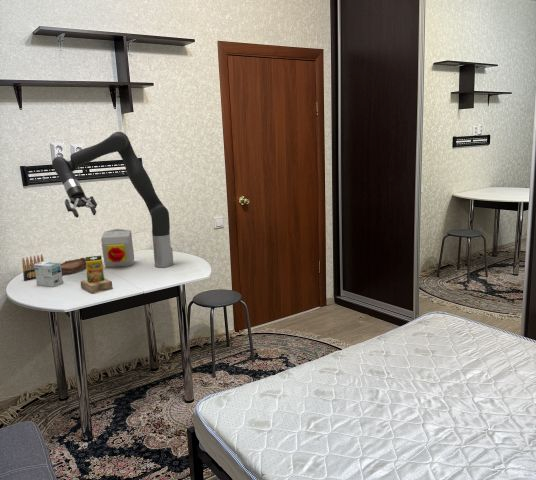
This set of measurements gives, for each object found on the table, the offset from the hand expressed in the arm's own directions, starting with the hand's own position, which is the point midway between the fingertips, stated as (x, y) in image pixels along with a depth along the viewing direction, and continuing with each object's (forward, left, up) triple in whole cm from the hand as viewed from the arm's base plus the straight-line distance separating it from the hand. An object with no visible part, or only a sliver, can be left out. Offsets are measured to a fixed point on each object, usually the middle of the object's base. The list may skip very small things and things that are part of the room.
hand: (86, 215), depth 242 cm
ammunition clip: (+20, -25, -33) cm, 46 cm away
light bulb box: (+18, -9, -33) cm, 39 cm away
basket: (+2, -28, -33) cm, 44 cm away
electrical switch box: (-21, -14, -33) cm, 42 cm away
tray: (+5, +15, -33) cm, 36 cm away
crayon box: (+5, +14, -29) cm, 33 cm away
